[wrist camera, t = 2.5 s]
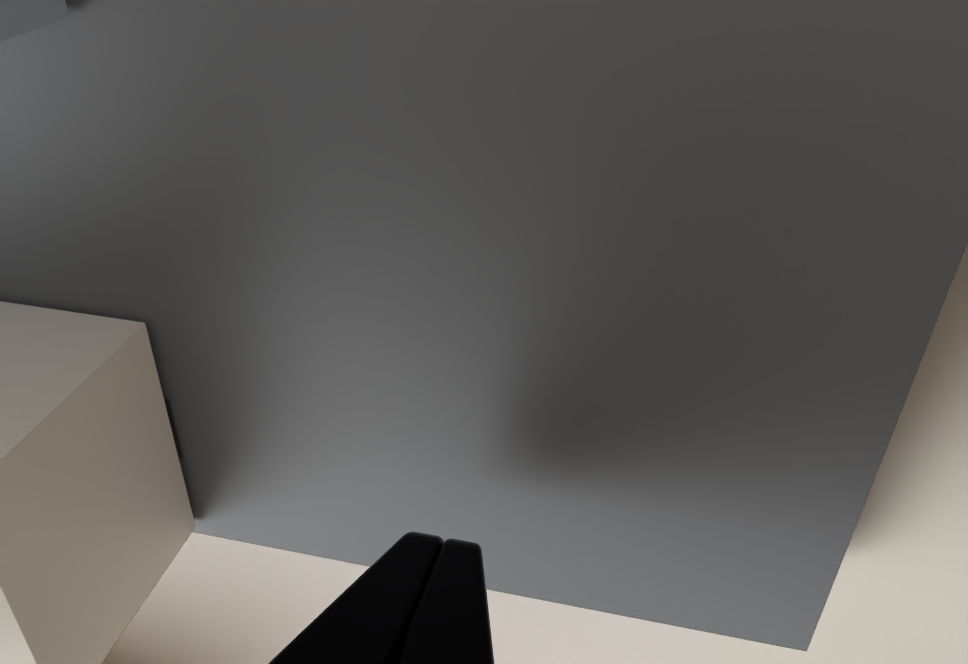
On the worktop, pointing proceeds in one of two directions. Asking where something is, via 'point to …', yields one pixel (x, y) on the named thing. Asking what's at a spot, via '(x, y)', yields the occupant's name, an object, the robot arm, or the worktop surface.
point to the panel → (512, 271)
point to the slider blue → (29, 15)
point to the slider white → (81, 483)
